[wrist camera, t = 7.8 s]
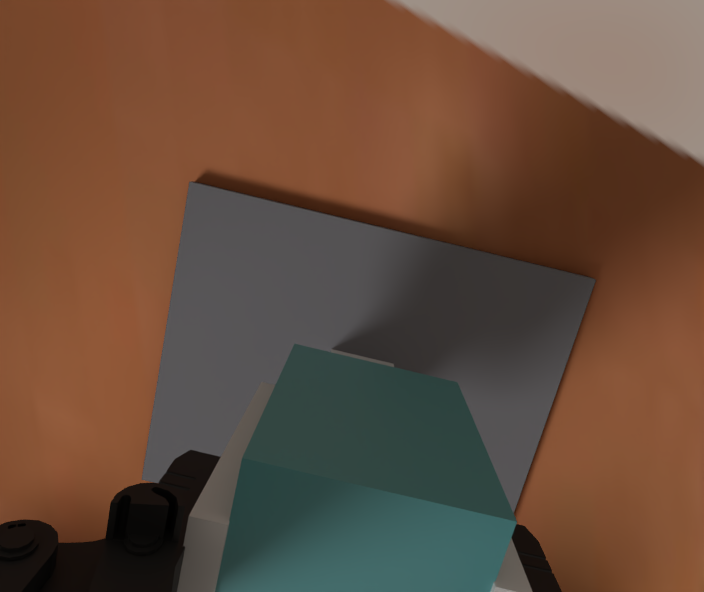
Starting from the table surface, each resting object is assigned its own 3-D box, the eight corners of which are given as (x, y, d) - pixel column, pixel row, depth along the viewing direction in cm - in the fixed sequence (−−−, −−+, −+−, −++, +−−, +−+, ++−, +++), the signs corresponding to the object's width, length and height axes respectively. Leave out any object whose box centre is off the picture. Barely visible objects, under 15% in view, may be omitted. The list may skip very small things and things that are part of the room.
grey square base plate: (146, 473, 23) (51, 598, 16) (193, 181, 20) (102, 182, 13) (494, 552, 23) (547, 708, 16) (590, 277, 20) (704, 326, 13)
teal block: (262, 488, 17) (196, 678, 11) (294, 343, 16) (242, 457, 9) (414, 523, 17) (441, 733, 11) (457, 382, 16) (517, 522, 9)
